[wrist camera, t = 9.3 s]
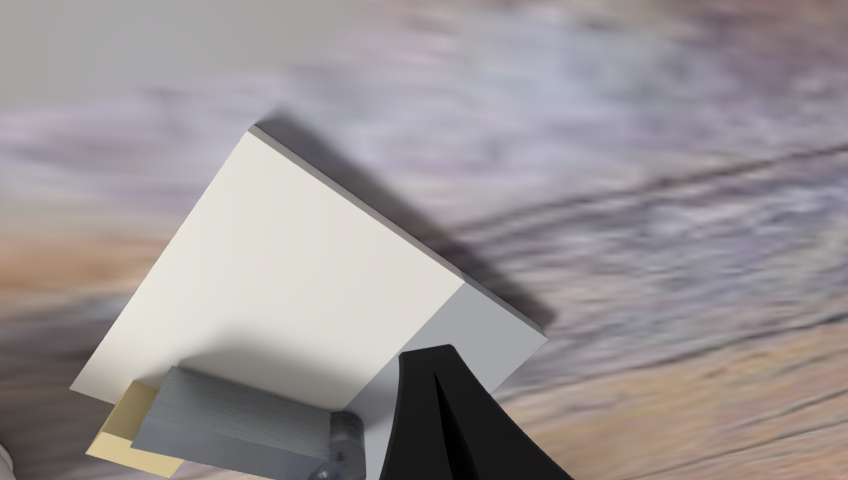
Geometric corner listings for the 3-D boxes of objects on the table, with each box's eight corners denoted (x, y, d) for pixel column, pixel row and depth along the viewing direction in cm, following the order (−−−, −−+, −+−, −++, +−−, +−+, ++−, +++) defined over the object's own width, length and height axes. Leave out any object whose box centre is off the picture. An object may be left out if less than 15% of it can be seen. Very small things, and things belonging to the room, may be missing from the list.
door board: (539, 325, 24) (573, 376, 20) (377, 478, 27) (382, 544, 24) (253, 124, 16) (228, 149, 13) (83, 370, 20) (27, 442, 16)
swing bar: (373, 419, 23) (377, 466, 20) (348, 452, 23) (349, 501, 21) (175, 359, 19) (149, 408, 16) (153, 400, 20) (126, 453, 17)
